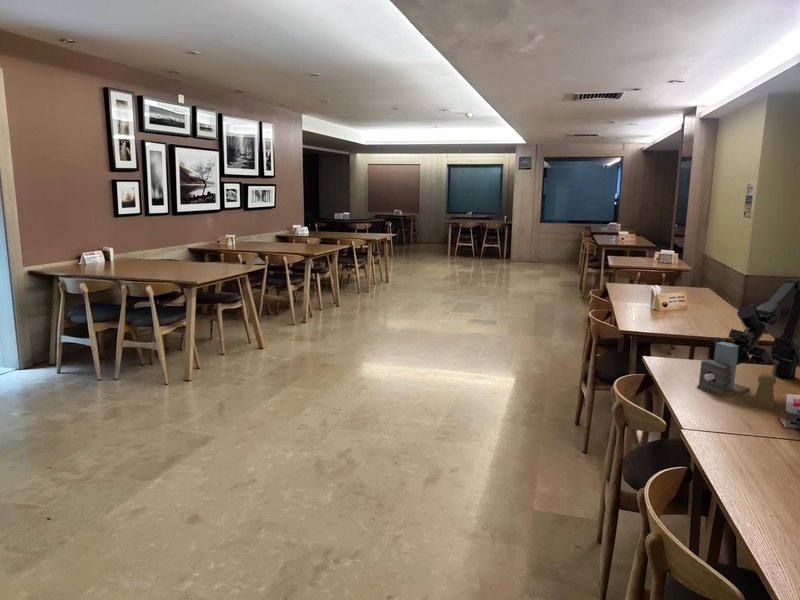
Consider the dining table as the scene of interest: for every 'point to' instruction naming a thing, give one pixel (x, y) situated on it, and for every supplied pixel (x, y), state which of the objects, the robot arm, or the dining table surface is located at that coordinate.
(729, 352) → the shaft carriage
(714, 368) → the bearing stand
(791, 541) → the dining table surface
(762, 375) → the olive flared post
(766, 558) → the dining table surface
